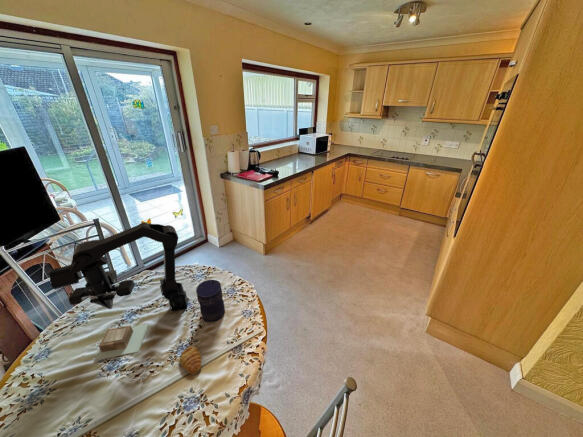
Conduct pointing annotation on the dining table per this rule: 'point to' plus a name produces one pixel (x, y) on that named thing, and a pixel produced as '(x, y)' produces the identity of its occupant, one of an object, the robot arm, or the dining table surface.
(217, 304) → the storage jar
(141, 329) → the mat
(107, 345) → the wooden block
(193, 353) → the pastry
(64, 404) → the dining table surface
